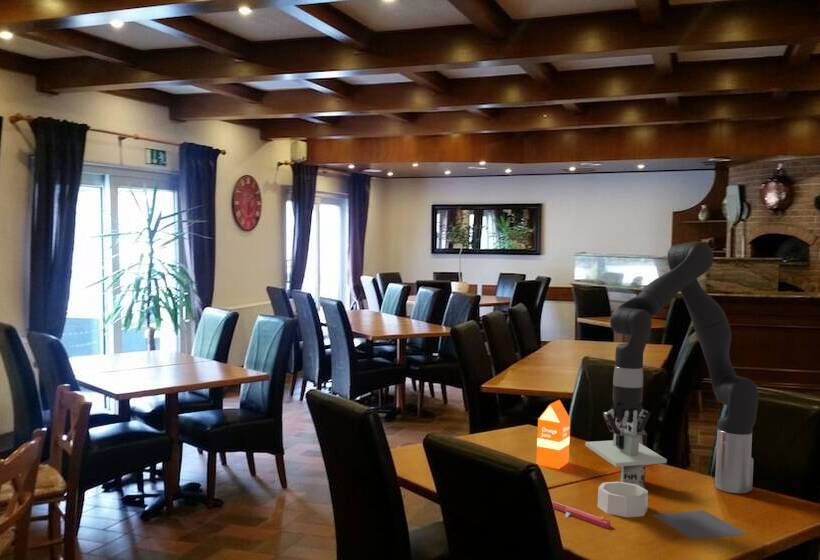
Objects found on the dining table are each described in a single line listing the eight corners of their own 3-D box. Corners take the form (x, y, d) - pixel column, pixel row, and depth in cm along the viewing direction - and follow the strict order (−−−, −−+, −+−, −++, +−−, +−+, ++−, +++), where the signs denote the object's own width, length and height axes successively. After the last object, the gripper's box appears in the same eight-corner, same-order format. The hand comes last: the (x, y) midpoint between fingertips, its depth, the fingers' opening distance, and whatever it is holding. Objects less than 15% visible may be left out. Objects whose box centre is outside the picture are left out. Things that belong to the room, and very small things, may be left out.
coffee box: (645, 490, 208) (647, 434, 208) (622, 487, 210) (624, 433, 209) (641, 480, 217) (644, 427, 217) (619, 478, 219) (621, 425, 218)
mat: (703, 511, 192) (703, 510, 192) (747, 535, 177) (747, 533, 177) (652, 516, 188) (652, 514, 188) (692, 541, 172) (692, 539, 172)
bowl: (628, 500, 200) (629, 480, 199) (655, 516, 188) (656, 495, 188) (590, 503, 196) (591, 483, 196) (615, 519, 185) (615, 498, 184)
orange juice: (569, 462, 233) (571, 401, 232) (559, 469, 226) (561, 405, 225) (546, 457, 237) (548, 397, 236) (535, 464, 230) (538, 402, 229)
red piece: (603, 534, 178) (613, 524, 181) (602, 527, 177) (612, 517, 180) (527, 506, 196) (537, 497, 199) (525, 499, 195) (536, 490, 198)
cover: (633, 442, 201) (635, 421, 200) (666, 463, 186) (668, 440, 186) (585, 445, 196) (586, 424, 196) (615, 466, 182) (617, 443, 181)
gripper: (642, 380, 196) (639, 443, 197) (597, 381, 192) (594, 445, 193) (659, 385, 189) (656, 451, 190) (612, 387, 185) (609, 454, 186)
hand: (625, 448), depth 191 cm, fingers closed on cover, 2 cm apart
